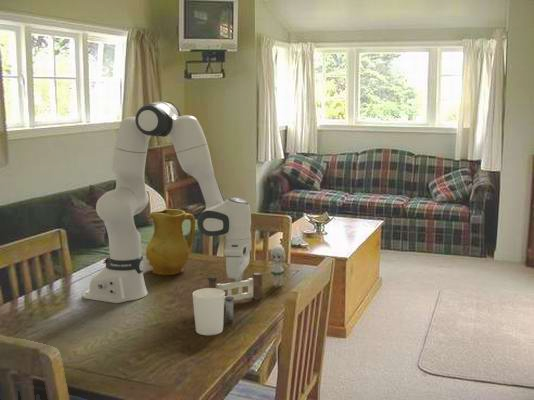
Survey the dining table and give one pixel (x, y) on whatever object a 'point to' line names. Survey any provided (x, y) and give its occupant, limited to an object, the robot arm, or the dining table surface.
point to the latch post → (229, 309)
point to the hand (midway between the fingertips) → (239, 284)
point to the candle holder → (209, 310)
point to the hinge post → (212, 282)
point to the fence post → (257, 285)
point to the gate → (238, 285)
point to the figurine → (278, 262)
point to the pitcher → (169, 242)
